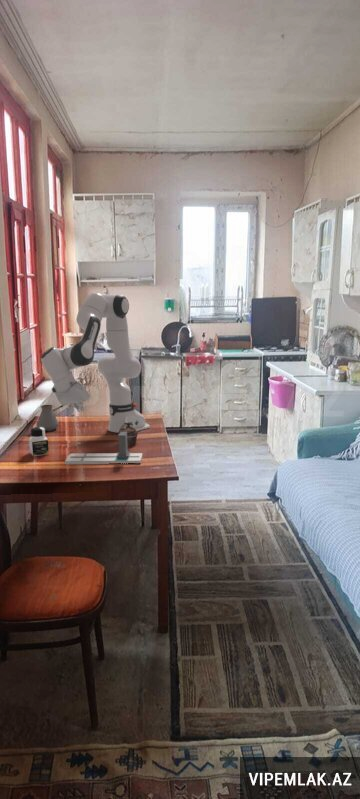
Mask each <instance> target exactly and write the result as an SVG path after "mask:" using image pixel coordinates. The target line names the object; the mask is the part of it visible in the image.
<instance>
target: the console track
mask: <svg viewBox="0 0 360 799" xmlns="http://www.w3.org/2000/svg"><path fill="white" fill-rule="evenodd" d="M117 454H118V452H115V453H114V452H113V453H105V452H102V453H99V452H98V453H97V452H96V453H93V452H92V453H91V452H90V453H87V452H86V453H83V452H82V453H70V454H69V455H68V456H67V457H66V459H65V461H64V464H65V465H110V464H109V463H121V464H120V465H129V464H128V463H142V461H141V460H143V457H144V456H143V455H144V454H143V452H137V453H136V452H133V453H131V452H130V455H129V458H117ZM122 463H123V464H122ZM124 463H125V464H124ZM126 463H127V464H126Z"/></svg>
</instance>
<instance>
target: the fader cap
mask: <svg viewBox="0 0 360 799" xmlns="http://www.w3.org/2000/svg"><path fill="white" fill-rule="evenodd" d="M117 438H118V452H117V453H118V454H117V458H129V455H130V453H131V451H130V450H129V449H128V447H129V446H128V445H127V432H120V433H119V435H118V434H117Z"/></svg>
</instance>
